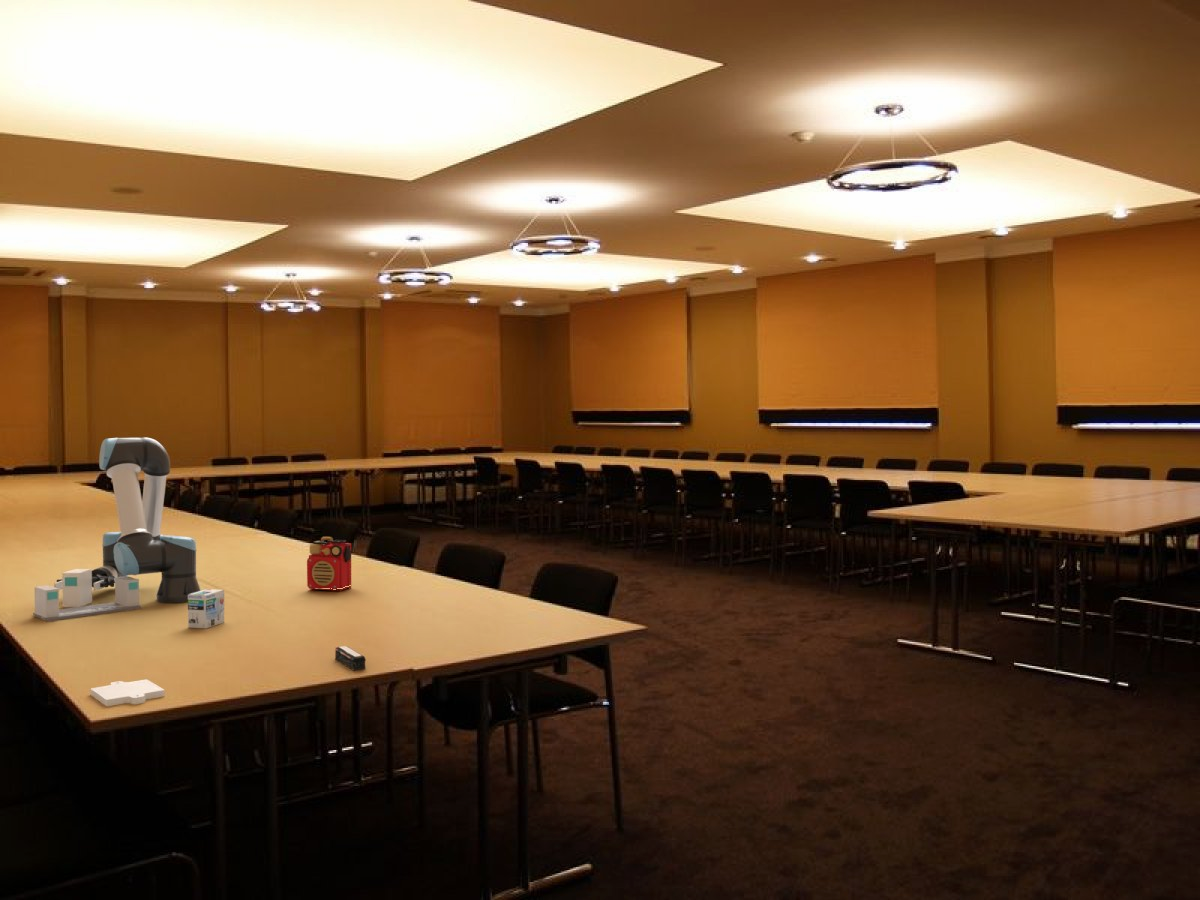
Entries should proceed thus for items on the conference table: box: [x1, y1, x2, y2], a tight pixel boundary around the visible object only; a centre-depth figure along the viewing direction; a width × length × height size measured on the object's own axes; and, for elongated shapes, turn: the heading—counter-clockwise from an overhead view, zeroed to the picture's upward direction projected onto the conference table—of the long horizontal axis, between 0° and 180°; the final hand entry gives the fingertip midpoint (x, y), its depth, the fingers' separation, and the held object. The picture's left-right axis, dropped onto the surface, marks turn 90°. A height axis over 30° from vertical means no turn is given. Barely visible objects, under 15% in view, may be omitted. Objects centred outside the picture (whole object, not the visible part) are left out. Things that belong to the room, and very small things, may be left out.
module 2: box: [114, 575, 140, 607], centre depth 349 cm, size 4×10×9 cm, turn 48°
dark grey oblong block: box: [334, 645, 367, 672], centre depth 273 cm, size 14×25×4 cm, turn 33°
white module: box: [61, 568, 93, 608], centre depth 353 cm, size 6×9×12 cm, turn 3°
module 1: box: [34, 584, 60, 618], centre depth 330 cm, size 4×10×9 cm, turn 48°
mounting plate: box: [89, 678, 165, 707], centre depth 239 cm, size 18×13×2 cm
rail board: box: [32, 601, 142, 622], centre depth 339 cm, size 30×13×1 cm, turn 138°
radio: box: [306, 536, 352, 592], centre depth 386 cm, size 16×10×20 cm, turn 76°
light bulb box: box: [187, 588, 225, 629], centre depth 320 cm, size 11×7×11 cm, turn 168°
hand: (74, 587), depth 352 cm, fingers open, 13 cm apart
